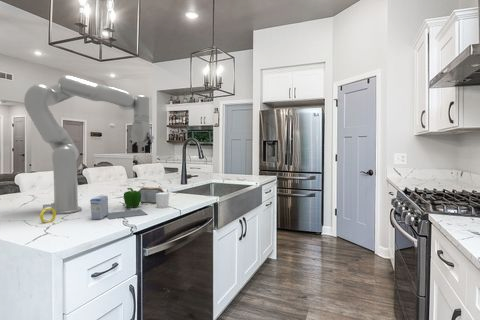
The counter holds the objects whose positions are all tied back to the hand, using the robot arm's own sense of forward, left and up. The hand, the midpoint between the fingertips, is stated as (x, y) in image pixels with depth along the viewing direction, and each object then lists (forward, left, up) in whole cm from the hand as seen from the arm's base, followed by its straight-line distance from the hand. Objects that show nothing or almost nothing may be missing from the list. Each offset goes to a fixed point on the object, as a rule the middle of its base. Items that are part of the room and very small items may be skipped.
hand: (141, 153), depth 150 cm
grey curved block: (+6, +6, -28) cm, 29 cm away
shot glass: (+8, -8, -28) cm, 30 cm away
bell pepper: (-5, 0, -28) cm, 28 cm away
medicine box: (-22, -16, -28) cm, 38 cm away
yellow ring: (-41, -13, -28) cm, 51 cm away
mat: (-11, -16, -28) cm, 34 cm away
